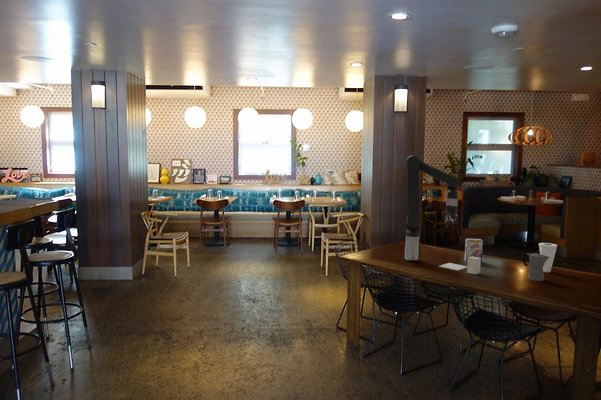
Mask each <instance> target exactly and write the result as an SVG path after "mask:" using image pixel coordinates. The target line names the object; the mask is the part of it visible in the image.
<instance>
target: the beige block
mask: <svg viewBox="0 0 601 400" xmlns="http://www.w3.org/2000/svg"><path fill="white" fill-rule="evenodd" d="M466 264H467V268H466V273H467V274H472V275H475V274H476V275H478V273H479V274H481V258H479V257H473V256H472V257H468V262H467V263H466Z"/></svg>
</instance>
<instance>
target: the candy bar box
mask: <svg viewBox="0 0 601 400" xmlns="http://www.w3.org/2000/svg"><path fill="white" fill-rule="evenodd" d="M483 247H484V240H483V239H481V238H465V245H464V262H465V263H468V257H472V256H473V257H479V258H481V263H482V262H483V261H482V260H483V249H484V248H483Z"/></svg>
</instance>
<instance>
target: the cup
mask: <svg viewBox="0 0 601 400" xmlns="http://www.w3.org/2000/svg"><path fill="white" fill-rule="evenodd" d="M538 246H539V247H538V248H539V254H542V255H545V256H548V257H549V258H548V259H547V261H546V262H545V263H544V267H543V272H544V273H551V271H552V266H553V263H554V260H555V255H556V252H557V248H558V244H555V243H551V242H550V243H549V242H539V243H538Z"/></svg>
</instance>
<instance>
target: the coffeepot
mask: <svg viewBox="0 0 601 400" xmlns="http://www.w3.org/2000/svg"><path fill="white" fill-rule="evenodd" d="M526 257H528V259H529V265H530V268H529V269H528V270H529V271H528V275H527V279H528V280H530V281H535V282H543V281H545V275H544V274H545V272H543V267H544V263H545V262H546V261H547V259H548V258H549V257H548V256H545V255H542V254H540V250H536V252H535V253H531V252H530V253H528V252H523V253H522V254H521V258H522V262H523V266H525V267H528V266H529V265H528V264H527V261H526Z"/></svg>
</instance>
